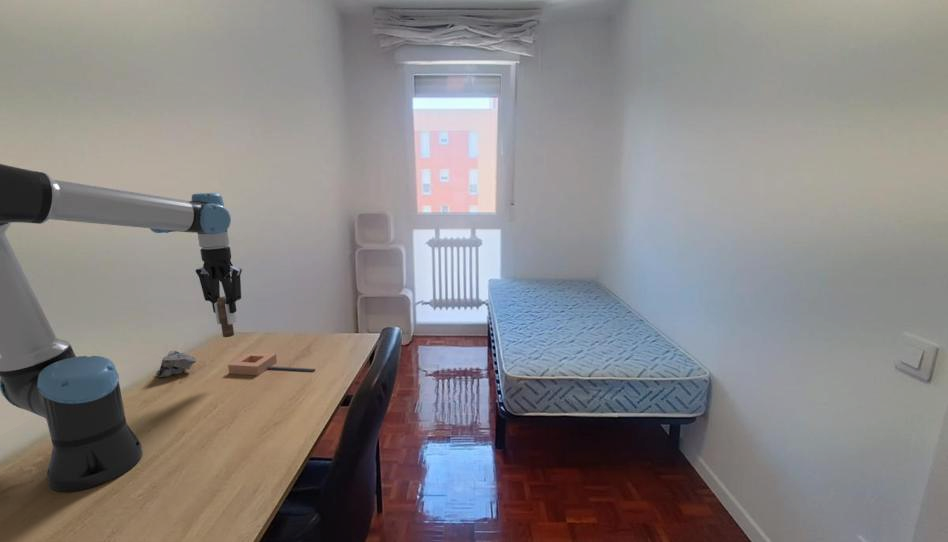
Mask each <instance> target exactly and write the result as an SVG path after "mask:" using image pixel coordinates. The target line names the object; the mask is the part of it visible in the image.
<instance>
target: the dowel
mask: <svg viewBox="0 0 948 542" xmlns="http://www.w3.org/2000/svg"><path fill="white" fill-rule="evenodd" d="M217 301H218V307H219V314H220V320H221V324H220V325H221V326H220V327H221V332H222V338H230V337H234V335H235V333H234V330H235V329H234V323H232V324H230V325H228V322H227V315H226V309H225V304H226V302H227V300H226V297H225V295H224V296H220V297H219V298H217Z"/></svg>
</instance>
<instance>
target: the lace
mask: <svg viewBox="0 0 948 542" xmlns="http://www.w3.org/2000/svg"><path fill="white" fill-rule="evenodd" d="M267 370H278V371H279V370H280V371H297V372H311V373H312V372H313V373H314V372H315V371H316V368H309V367H304V368H303V367H290V366H286V367H285V366H273V365H272V366H268V367H267Z"/></svg>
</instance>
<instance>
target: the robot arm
mask: <svg viewBox="0 0 948 542" xmlns="http://www.w3.org/2000/svg"><path fill="white" fill-rule="evenodd" d="M49 220H54V221H65V222H75V223H76V222H77V223H85V224H99V225H107V226H108V225H111V226H120V227H121V226H122V227H131V228H132V227H133V228H143V229H150V231H151V232H153V233H156V234H163V233H165V234H169V233H171V232H172V233H174V232H175V233H176V232H180V233H192V234H193V233H195V234H196V233H197V237H198V245H199V247H201V248H200V250H199V251H200V258H201V261H202V262H203V264H202V267H200V268H197V269H195V273H196V275H197V277H198V278H199V283H200V286H201V290H202V293H203V298H204V301H206V302H211V306H212V311H213V313H214V314H215V318H216V324H217V325H221V320H220V314H219V307H218V301H217V298H219V297H221V296H220V295H221V294H220V293H221V291H220V290H221V289H220V288H221V287H220V283H221V286H222V290H223V292H224V296H225V297H226V300H227V302H226V304H225V309H226V315H227V322H228V325H230V324H232V323H233V324H234V323H236V322H237V318H236V312H237V305H236V304H237V303H236V302H237V301H239V300H242V283H241V274H242V272H243V270H242V268H241V267H238V268H237V267H235V266H234V265H233V263H232V261H231V259H232V252H231V247H230V246H229V245H230V239H229V238H230V237H229V233H228V229H229V227H230V225H231V215H230V212H229V210H228V209H227V208H226V207H225V204H224V200H223V196H222V195H221V194H220V193H218V192H200V193H193V194H192V195H191V200H190V201H189V200H184V199H177V198H173V197H172V198H171V197H165V196H158V195H154V194H153V195H152V194H146V193H141V192H140V193H139V192H134V191H133V192H132V191H127V190H119V189H114V188H107V187H103V186H96V185H89V184H81V183H77V182H72V181H64V180H57V179H53V178H52V177H50V175H49V174H48V173H45V172H42V171H36V170H30V169H25V168H21V167H15V166H11V165H7V164H2V163H0V393H1V394H2V396H3V397H4V398H5V400H6V401H7V402H8V403H10V404H11V405H12V406H13V407H16V408H18V409H23V410H26V411H27V412H30V413H31V414H34V415H37V416H39V417H43V419H45V420H46V423H47V428H48V432H49V436H50V439H51V444H52V450H51V455H50V460H49V466H48V470H47V472H46V479H47V482H48V487H49V488H50V489H52V491H57V492H61V493H62V492H63V493H67V492H69V493H71V492H76V491H82V490H86V489H89V488H90V489H91V488H94V487H96V486H100V485H103V484H106V483H107V482H109V481H113V480H114V479H116V478H118V477H120V476H122V475H123V474H125V473H127V472H128V471H130V470H131V469H132V468H134V466H136V465H137V464H138V463H139V462H140V460H141V459H142V456H143V449H142V444H141V441H140V439H138V438H137V436H136V434H135V433H134V432H133V431H132V429H131V428H130V426H129V425H128V423H127V419H126V415H125V408H124V403H123V397H122V391H121V386H120V377H119V373H118V371H117V369H116V365H115V364H114V362H113V361H112V360H111V359H109V358H107V357H105V356H99V355H91V356H87V355H81V356H80V355H79V356H76V354H75V353H76V352H74V350H73V348H72V345H71V344H70V342H69V341H68V340H65V339H61V338H58V337H56V335H55V333H54V330H53V328H52V327H51V325H50V324H51V323H50V322H49V320H48V318H47V316H46V314H45V312H44V310H43V308H42V305H41V303H40V302H39V299H38V298H37V296H36V294H35V291H34V290H33V287H32V286H31V283H30V282H29V279H28V278H27V275H26V274H25V272H24V270H23V268H22V266H21V264H20V261H19V260H18V257H17V256H16V253H15V251H14V250H13V247H12V246H11V243H10V241H9V240H8V238H7V235H6V231H7V230H8V228H9V227H10V226H11V224H12V223H22V224H23V223H24V224H25V223H27V224H38V225H39V224H40V225H41V224H45V222H48V221H49Z"/></svg>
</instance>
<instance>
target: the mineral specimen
mask: <svg viewBox="0 0 948 542" xmlns="http://www.w3.org/2000/svg"><path fill="white" fill-rule="evenodd" d="M197 361H198V360H197V359H196V358H195V357H194V356H192V355H191V354H188V353H186V352H179V351H177V350H171V351H169V352H168V353H167V354H166V355H165V356H164V357H163V358H162V360H161V364H160V366H159V367H160V368H159V369H158V370H157V371H156V373H155V375H156V377H157V378H163V377H164V378H165V377H166V378H167V377H169V378H170V377H171V375H177V374H182V373H183V371H186V370H190V369H191V367H192V366H193V365H194V364H195V363H197Z"/></svg>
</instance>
